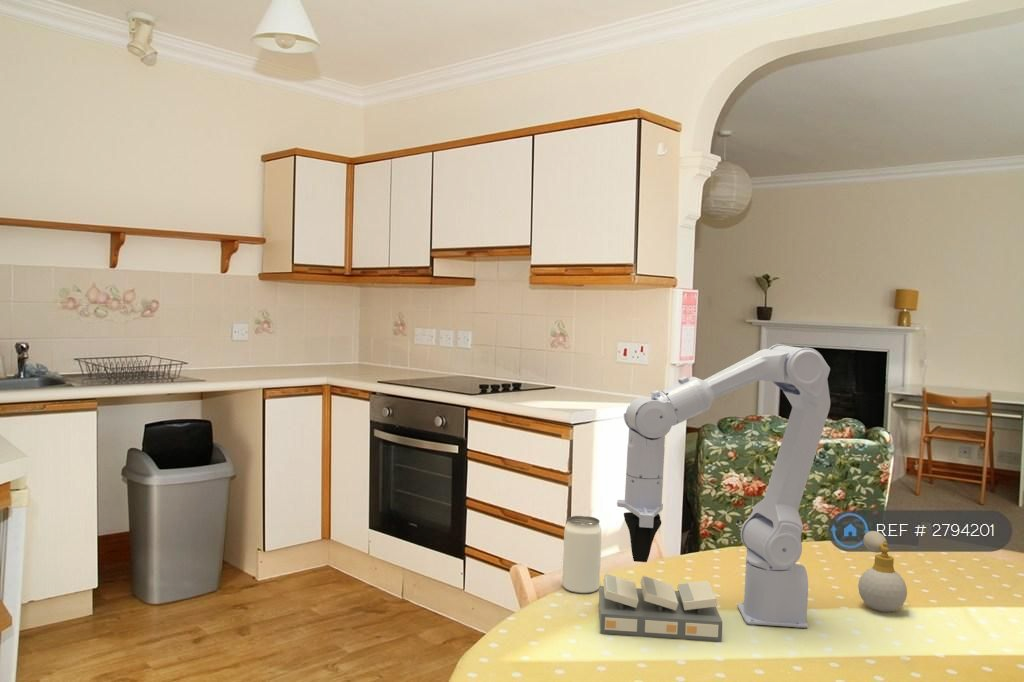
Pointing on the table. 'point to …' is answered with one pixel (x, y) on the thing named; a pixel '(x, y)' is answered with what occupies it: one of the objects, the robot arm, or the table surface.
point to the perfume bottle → (881, 578)
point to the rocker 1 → (620, 590)
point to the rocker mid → (659, 593)
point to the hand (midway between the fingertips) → (639, 560)
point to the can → (582, 554)
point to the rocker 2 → (697, 595)
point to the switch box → (658, 620)
